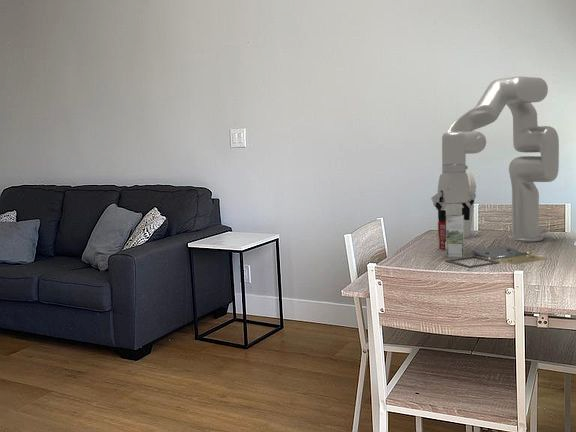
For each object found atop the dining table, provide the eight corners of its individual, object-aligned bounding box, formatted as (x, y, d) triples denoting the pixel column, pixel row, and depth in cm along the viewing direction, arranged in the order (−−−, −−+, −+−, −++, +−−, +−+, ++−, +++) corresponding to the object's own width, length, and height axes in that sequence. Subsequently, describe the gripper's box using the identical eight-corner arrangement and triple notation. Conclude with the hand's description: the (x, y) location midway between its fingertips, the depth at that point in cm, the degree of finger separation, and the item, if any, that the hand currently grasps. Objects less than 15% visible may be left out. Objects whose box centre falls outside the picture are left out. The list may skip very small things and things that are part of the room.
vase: (458, 241, 237) (457, 173, 234) (435, 237, 249) (434, 172, 246) (484, 237, 243) (483, 171, 240) (460, 233, 255) (459, 170, 252)
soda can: (458, 252, 216) (457, 218, 214) (438, 252, 217) (438, 219, 216) (457, 248, 222) (456, 216, 221) (438, 248, 224) (437, 216, 222)
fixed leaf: (528, 255, 204) (528, 251, 204) (553, 260, 194) (553, 256, 194) (485, 262, 197) (485, 257, 197) (509, 267, 188) (509, 262, 187)
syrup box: (465, 256, 208) (464, 214, 207) (464, 259, 203) (463, 216, 201) (447, 256, 210) (446, 214, 208) (446, 259, 205) (445, 216, 203)
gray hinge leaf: (504, 247, 212) (505, 243, 211) (526, 256, 202) (527, 252, 202) (471, 252, 206) (472, 248, 206) (493, 262, 197) (493, 257, 197)
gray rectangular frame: (474, 259, 202) (474, 256, 202) (499, 265, 191) (499, 261, 191) (445, 264, 198) (445, 260, 197) (469, 270, 187) (469, 266, 187)
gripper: (467, 168, 209) (467, 218, 211) (425, 170, 203) (425, 221, 205) (482, 168, 203) (482, 220, 204) (439, 171, 196) (439, 224, 198)
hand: (454, 220), depth 205 cm, fingers open, 9 cm apart
